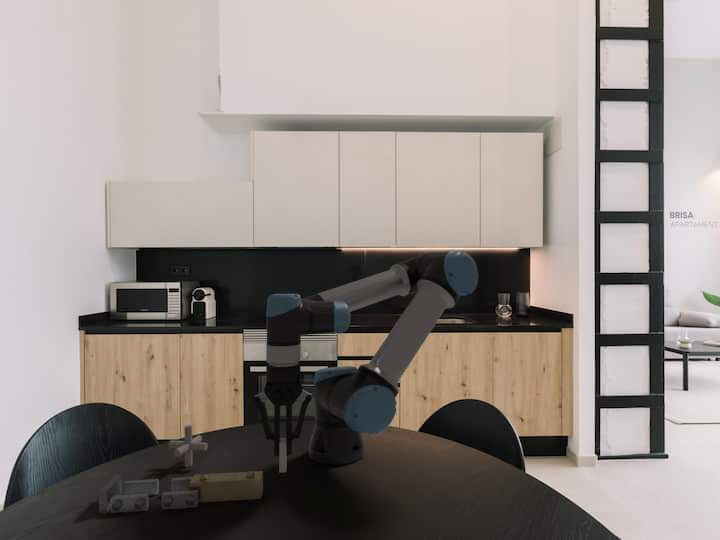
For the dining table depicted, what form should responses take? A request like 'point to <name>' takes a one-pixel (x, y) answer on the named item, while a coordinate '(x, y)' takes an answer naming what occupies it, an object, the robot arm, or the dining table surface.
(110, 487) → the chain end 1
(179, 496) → the chain end
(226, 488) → the link
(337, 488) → the dining table surface
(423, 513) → the dining table surface
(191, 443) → the pipe connector
